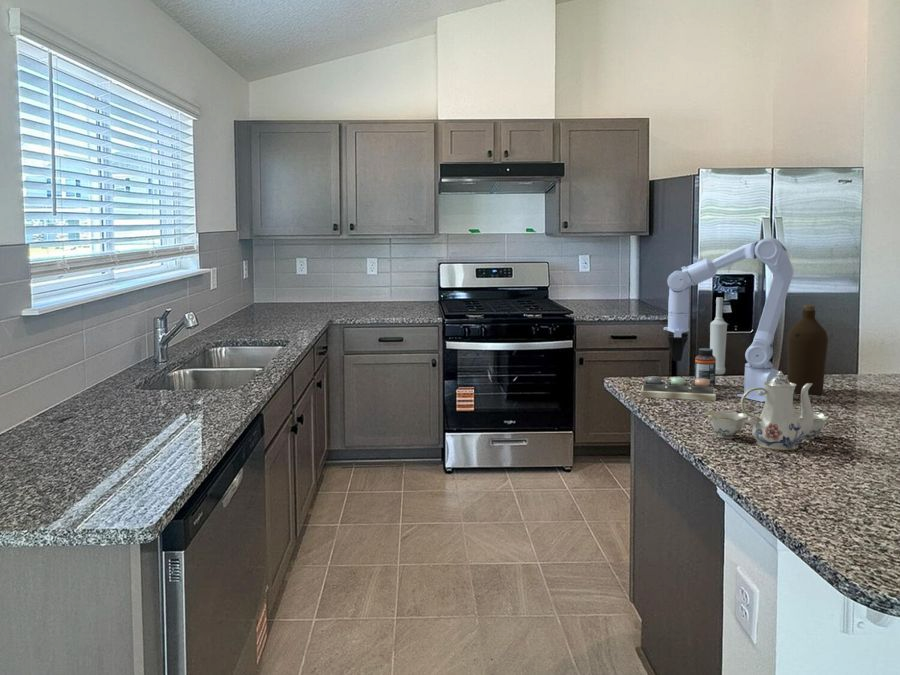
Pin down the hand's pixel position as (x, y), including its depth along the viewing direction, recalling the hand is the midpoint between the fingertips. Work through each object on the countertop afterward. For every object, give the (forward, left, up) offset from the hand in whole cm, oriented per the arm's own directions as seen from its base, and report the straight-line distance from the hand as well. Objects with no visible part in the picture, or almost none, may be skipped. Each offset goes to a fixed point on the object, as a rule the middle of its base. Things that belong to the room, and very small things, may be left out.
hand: (677, 359), depth 224 cm
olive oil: (-18, -32, -10) cm, 38 cm away
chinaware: (-53, +21, -10) cm, 58 cm away
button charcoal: (-1, +9, -6) cm, 11 cm away
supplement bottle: (+2, -13, -10) cm, 16 cm away
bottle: (+17, -33, -10) cm, 38 cm away
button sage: (-5, +4, -6) cm, 9 cm away
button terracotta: (-9, -1, -6) cm, 11 cm away
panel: (-5, +4, -9) cm, 11 cm away
